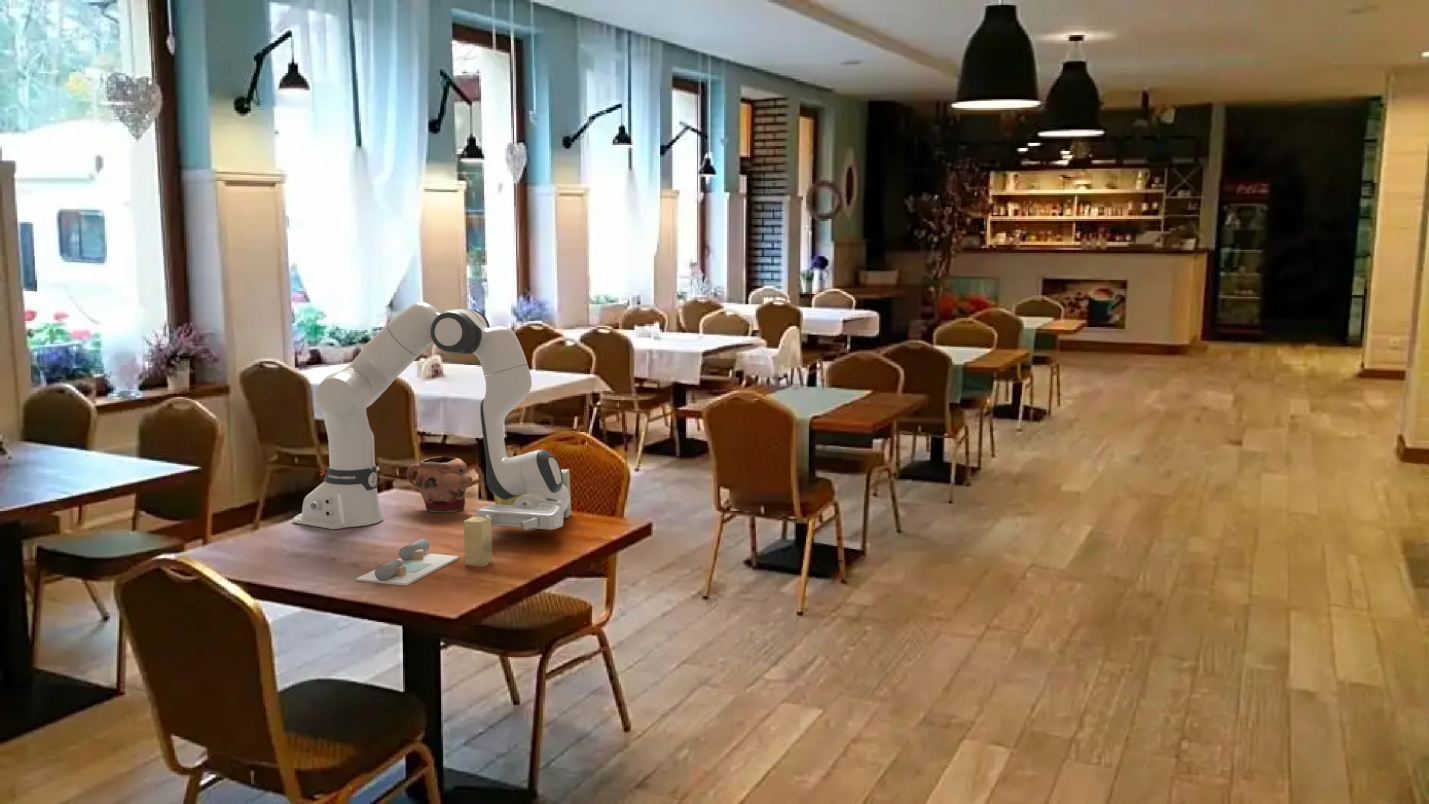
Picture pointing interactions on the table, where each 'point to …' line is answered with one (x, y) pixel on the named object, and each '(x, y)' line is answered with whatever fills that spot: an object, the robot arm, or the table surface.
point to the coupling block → (478, 541)
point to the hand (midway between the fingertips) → (504, 524)
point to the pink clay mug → (441, 483)
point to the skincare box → (567, 484)
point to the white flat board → (409, 565)
